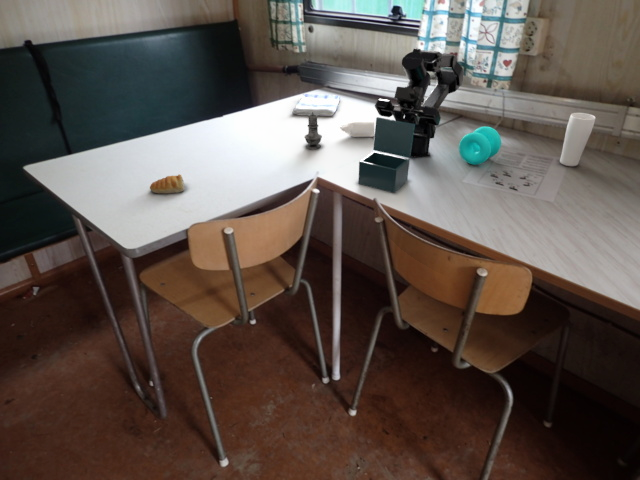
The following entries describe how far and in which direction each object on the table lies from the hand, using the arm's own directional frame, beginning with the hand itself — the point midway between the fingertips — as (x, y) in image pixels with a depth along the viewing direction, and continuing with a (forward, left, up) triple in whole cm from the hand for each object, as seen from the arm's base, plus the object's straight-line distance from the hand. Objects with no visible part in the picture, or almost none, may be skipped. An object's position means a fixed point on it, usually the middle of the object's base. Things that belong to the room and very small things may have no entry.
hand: (397, 138), depth 132 cm
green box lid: (+2, +2, +1) cm, 3 cm away
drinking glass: (-55, +6, -11) cm, 56 cm away
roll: (+2, -33, -11) cm, 35 cm away
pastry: (+65, -5, -11) cm, 66 cm away
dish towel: (+9, -70, -11) cm, 71 cm away
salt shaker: (+19, -27, -11) cm, 35 cm away
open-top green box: (+5, +5, -11) cm, 13 cm away
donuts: (-29, -3, -11) cm, 31 cm away
